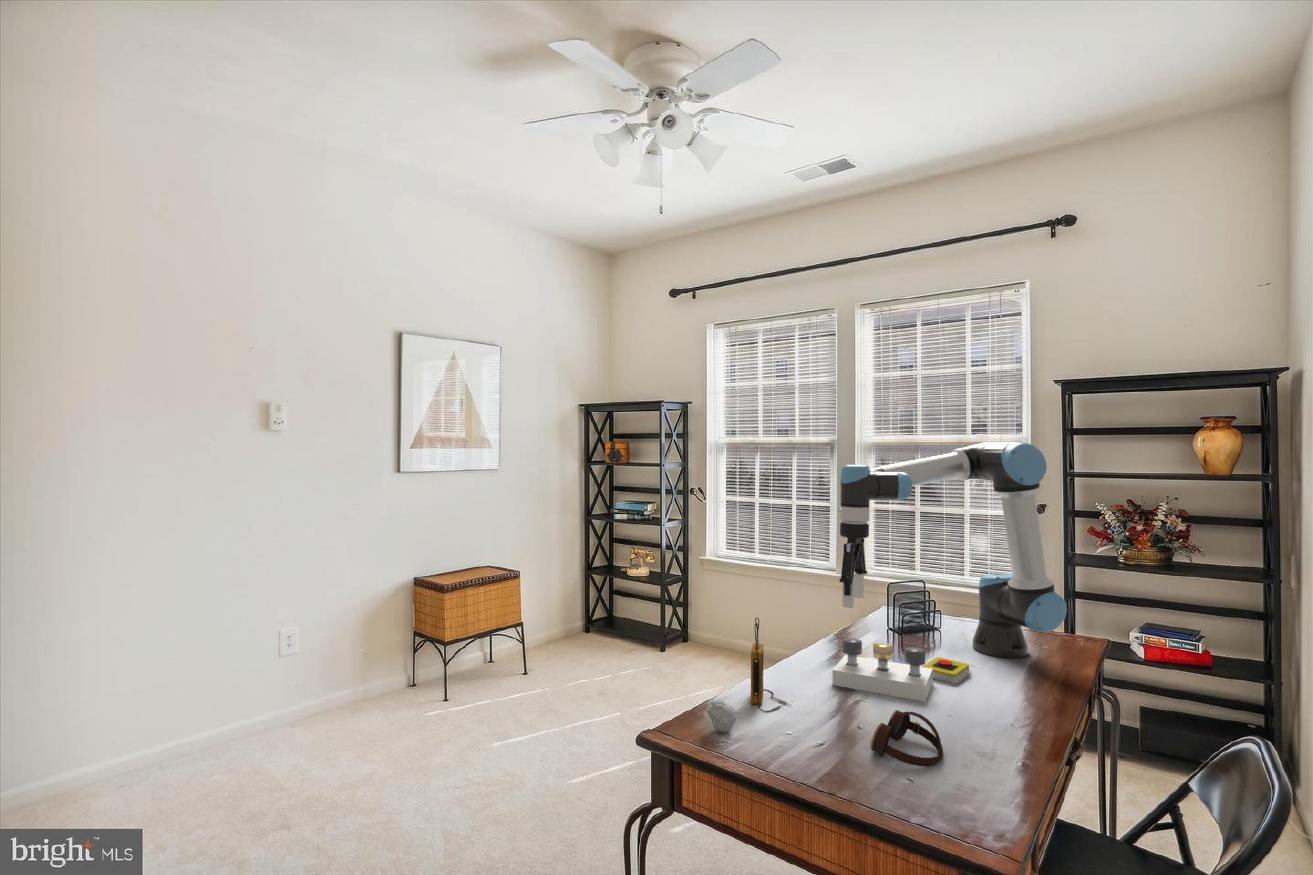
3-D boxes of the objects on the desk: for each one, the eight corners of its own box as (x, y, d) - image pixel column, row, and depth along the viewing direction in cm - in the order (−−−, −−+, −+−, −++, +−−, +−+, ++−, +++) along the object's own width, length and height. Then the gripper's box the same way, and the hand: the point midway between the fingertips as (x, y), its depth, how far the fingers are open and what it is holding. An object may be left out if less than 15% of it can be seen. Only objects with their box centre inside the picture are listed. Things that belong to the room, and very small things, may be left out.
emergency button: (918, 663, 186) (939, 650, 197) (918, 679, 186) (939, 665, 197) (953, 671, 180) (973, 658, 190) (953, 688, 180) (973, 673, 191)
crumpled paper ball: (701, 728, 154) (701, 697, 154) (729, 723, 156) (729, 693, 156) (713, 739, 148) (713, 707, 148) (742, 734, 151) (742, 703, 151)
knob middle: (894, 670, 182) (894, 644, 182) (890, 676, 177) (891, 649, 177) (874, 667, 184) (875, 641, 184) (871, 673, 180) (871, 646, 180)
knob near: (926, 675, 178) (926, 649, 178) (923, 681, 174) (923, 654, 174) (906, 672, 180) (906, 646, 180) (903, 678, 176) (903, 651, 176)
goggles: (889, 729, 153) (900, 689, 151) (949, 760, 145) (960, 717, 143) (862, 754, 141) (873, 710, 140) (925, 789, 133) (937, 743, 131)
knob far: (863, 665, 186) (863, 639, 186) (859, 671, 181) (859, 644, 181) (845, 662, 188) (845, 637, 188) (840, 667, 184) (840, 642, 184)
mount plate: (932, 683, 182) (932, 668, 181) (925, 701, 169) (925, 685, 169) (845, 668, 193) (845, 654, 193) (832, 684, 180) (832, 669, 180)
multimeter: (792, 714, 161) (792, 630, 161) (749, 711, 163) (749, 627, 163) (792, 691, 176) (792, 614, 176) (753, 688, 178) (753, 611, 178)
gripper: (850, 516, 197) (849, 591, 197) (829, 526, 176) (827, 610, 176) (877, 518, 193) (876, 594, 193) (858, 528, 172) (857, 614, 172)
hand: (853, 602), depth 184 cm, fingers open, 12 cm apart
